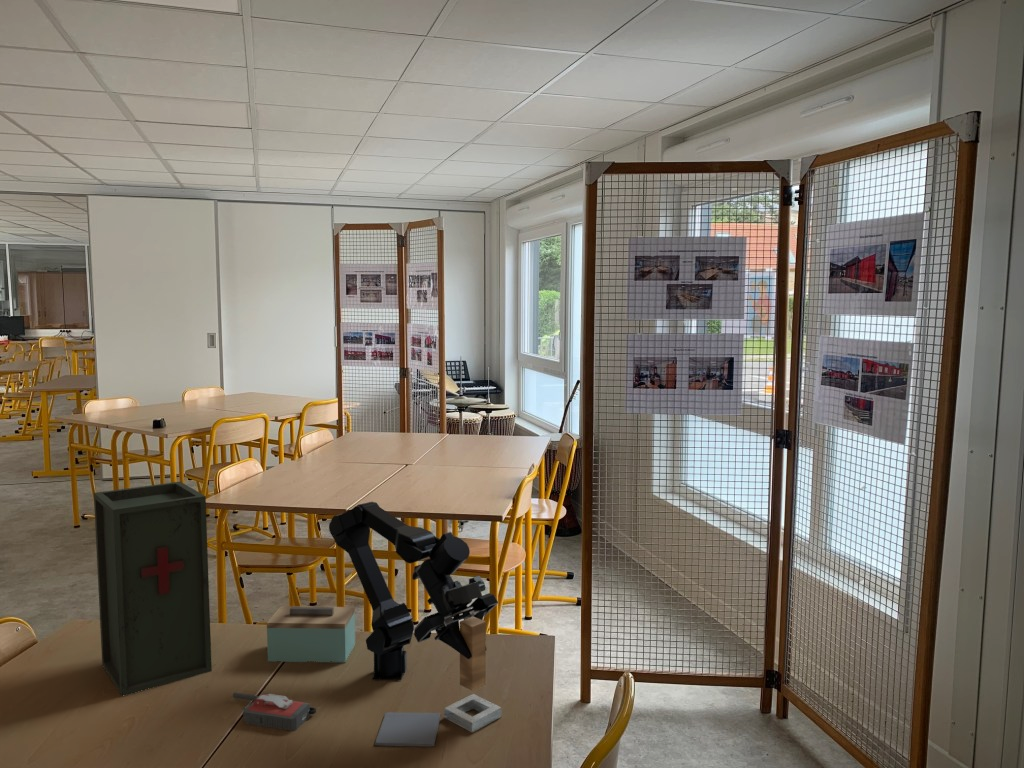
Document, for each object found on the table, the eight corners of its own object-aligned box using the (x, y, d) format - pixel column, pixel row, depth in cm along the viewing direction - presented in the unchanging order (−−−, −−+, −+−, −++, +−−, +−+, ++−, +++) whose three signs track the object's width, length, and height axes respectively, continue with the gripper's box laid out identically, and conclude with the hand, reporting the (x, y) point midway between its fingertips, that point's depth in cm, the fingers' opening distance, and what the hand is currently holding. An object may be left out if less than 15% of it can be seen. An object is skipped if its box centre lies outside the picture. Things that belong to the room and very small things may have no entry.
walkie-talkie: (322, 711, 157) (236, 698, 162) (321, 690, 157) (235, 678, 162) (299, 734, 149) (209, 719, 154) (299, 712, 148) (208, 698, 153)
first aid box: (122, 696, 162) (113, 509, 158) (102, 665, 176) (93, 492, 172) (211, 671, 174) (205, 496, 170) (186, 643, 188) (180, 481, 184)
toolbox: (267, 661, 179) (266, 616, 177) (281, 642, 188) (280, 599, 187) (345, 662, 178) (344, 617, 177) (355, 643, 188) (354, 600, 187)
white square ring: (444, 717, 154) (444, 708, 154) (473, 702, 160) (473, 693, 160) (472, 732, 149) (472, 722, 149) (501, 716, 155) (501, 707, 155)
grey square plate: (375, 745, 145) (375, 742, 144) (385, 714, 155) (385, 712, 155) (433, 746, 144) (433, 743, 144) (440, 715, 155) (440, 713, 155)
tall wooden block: (459, 684, 154) (459, 621, 153) (473, 678, 156) (473, 616, 155) (472, 690, 151) (472, 626, 150) (485, 684, 154) (485, 621, 153)
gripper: (423, 577, 148) (462, 651, 141) (492, 555, 161) (531, 621, 155) (397, 606, 154) (434, 678, 147) (466, 582, 167) (502, 647, 161)
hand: (477, 654), depth 152 cm, fingers closed on tall wooden block, 4 cm apart
